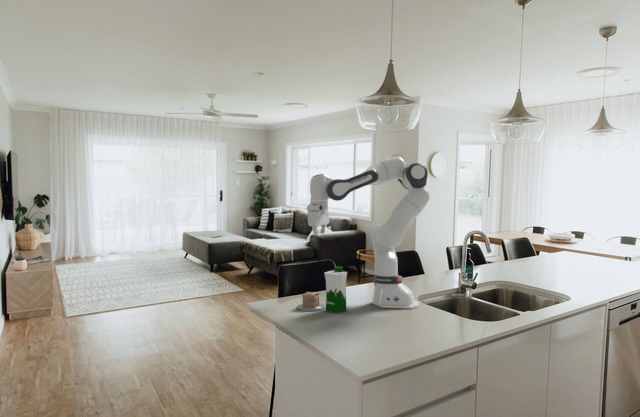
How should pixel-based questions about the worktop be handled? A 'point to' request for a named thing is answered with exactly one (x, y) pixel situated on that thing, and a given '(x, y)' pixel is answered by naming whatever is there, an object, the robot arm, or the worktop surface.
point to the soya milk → (336, 290)
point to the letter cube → (310, 299)
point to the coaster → (318, 308)
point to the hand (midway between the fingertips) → (319, 234)
